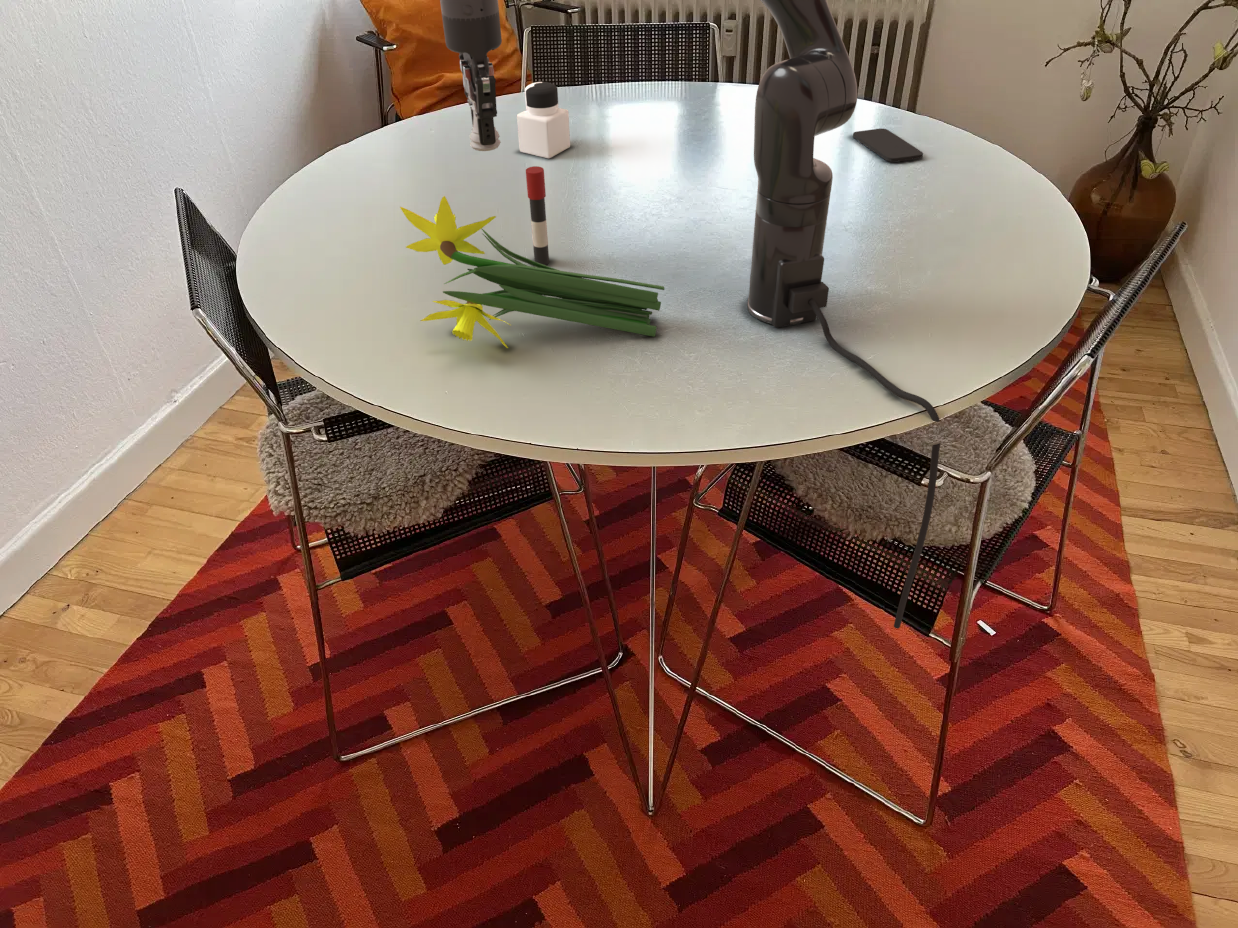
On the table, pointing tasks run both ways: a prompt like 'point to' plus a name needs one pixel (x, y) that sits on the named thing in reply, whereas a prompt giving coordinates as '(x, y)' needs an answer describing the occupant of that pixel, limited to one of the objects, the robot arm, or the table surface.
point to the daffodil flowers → (529, 285)
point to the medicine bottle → (543, 122)
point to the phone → (887, 145)
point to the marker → (538, 213)
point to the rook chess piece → (475, 135)
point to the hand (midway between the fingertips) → (484, 137)
